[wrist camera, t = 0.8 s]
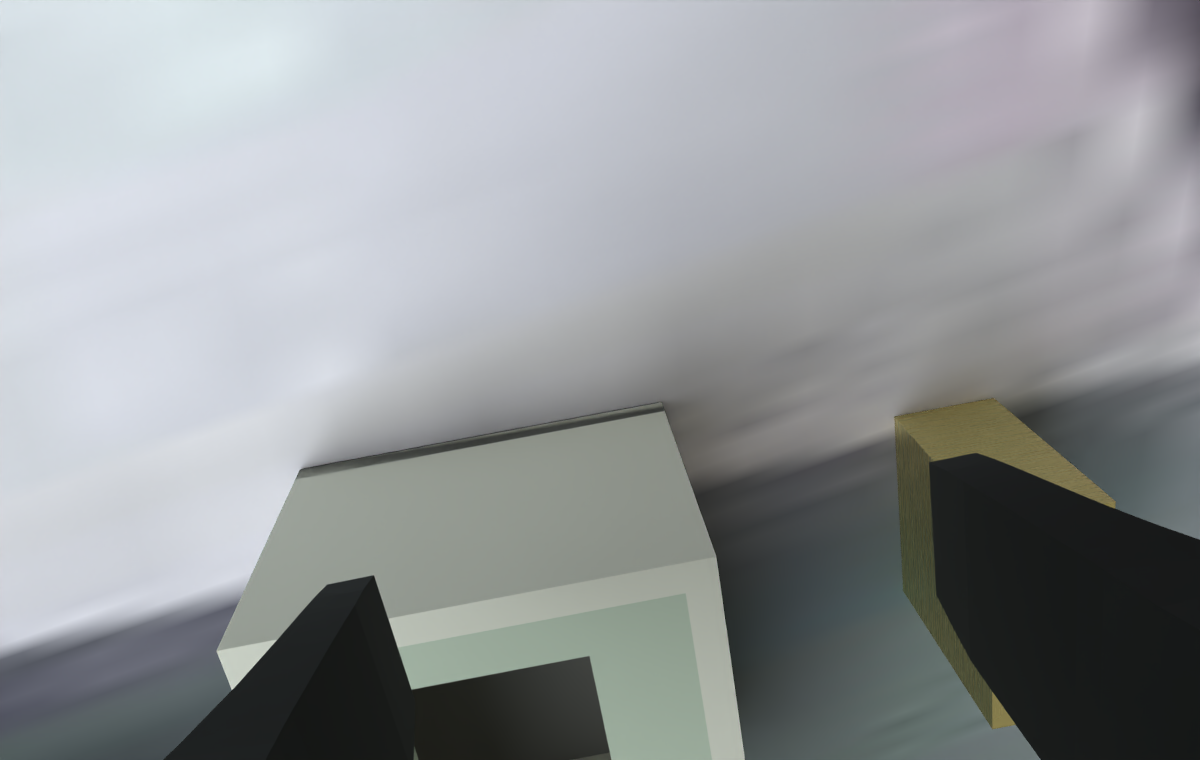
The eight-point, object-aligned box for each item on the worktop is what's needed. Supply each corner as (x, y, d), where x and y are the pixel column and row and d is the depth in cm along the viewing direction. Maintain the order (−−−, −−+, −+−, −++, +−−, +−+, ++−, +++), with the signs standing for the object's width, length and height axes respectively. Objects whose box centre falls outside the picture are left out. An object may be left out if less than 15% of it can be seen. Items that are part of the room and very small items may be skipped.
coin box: (713, 736, 26) (773, 963, 20) (406, 794, 25) (371, 1041, 19) (661, 402, 22) (716, 557, 16) (299, 469, 22) (216, 651, 16)
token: (994, 572, 24) (1105, 707, 20) (902, 590, 24) (992, 728, 20) (993, 397, 22) (1115, 501, 18) (893, 416, 22) (991, 525, 18)
